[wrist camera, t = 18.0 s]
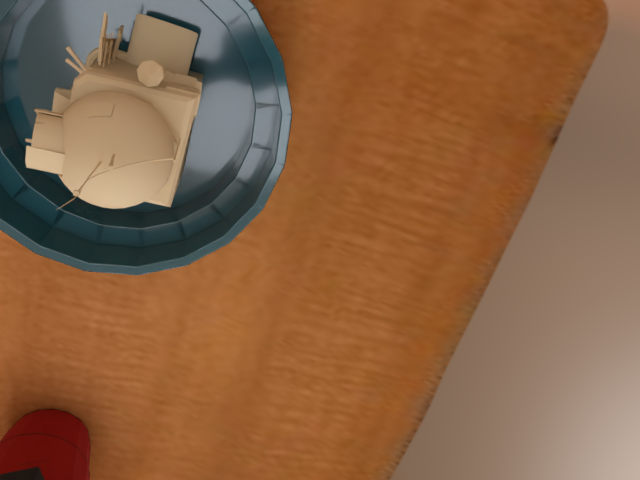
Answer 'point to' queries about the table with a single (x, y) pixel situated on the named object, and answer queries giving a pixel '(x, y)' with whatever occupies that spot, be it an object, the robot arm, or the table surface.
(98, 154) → the robot
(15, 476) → the robot arm
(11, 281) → the table surface
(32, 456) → the plastic cup
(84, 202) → the shallow teal bowl
